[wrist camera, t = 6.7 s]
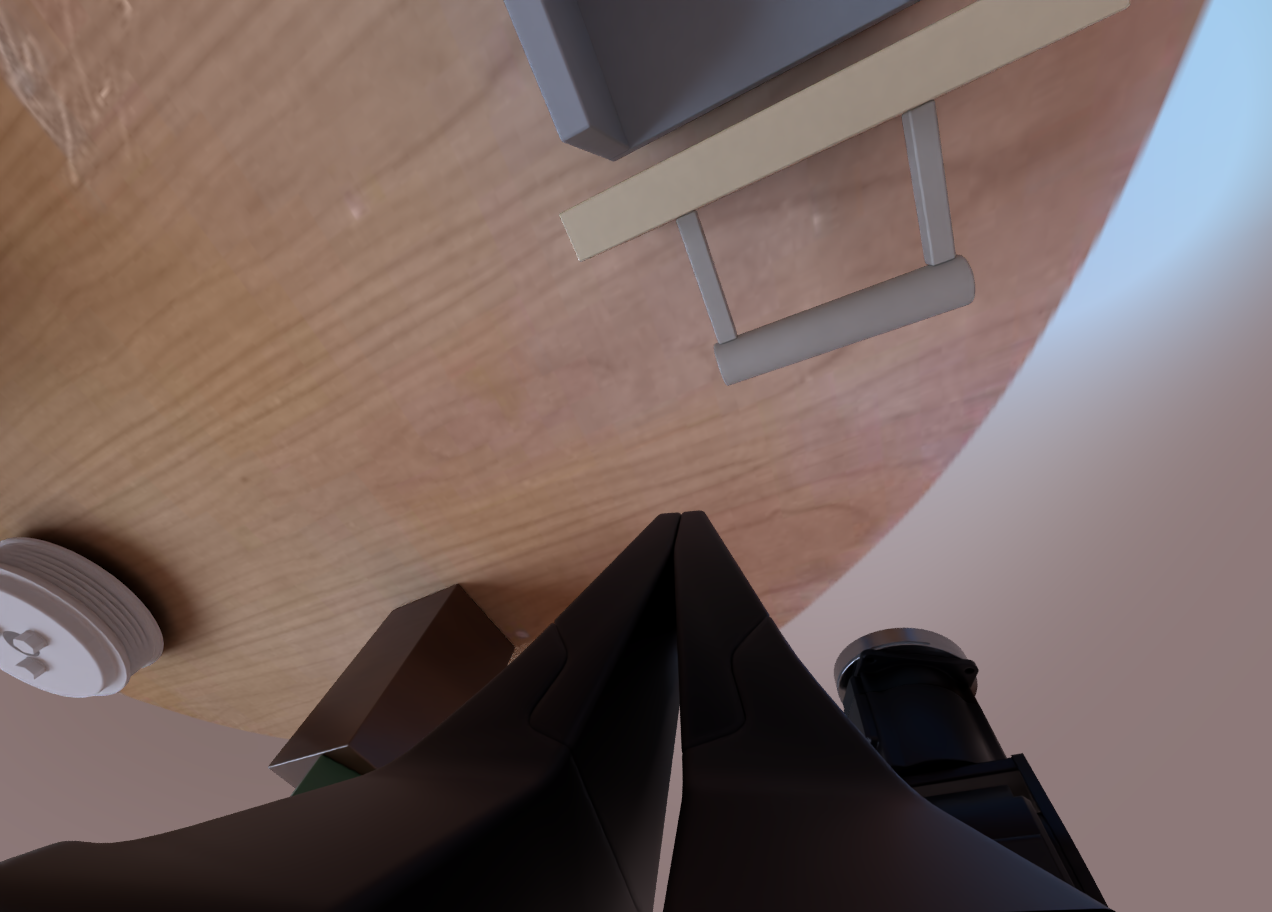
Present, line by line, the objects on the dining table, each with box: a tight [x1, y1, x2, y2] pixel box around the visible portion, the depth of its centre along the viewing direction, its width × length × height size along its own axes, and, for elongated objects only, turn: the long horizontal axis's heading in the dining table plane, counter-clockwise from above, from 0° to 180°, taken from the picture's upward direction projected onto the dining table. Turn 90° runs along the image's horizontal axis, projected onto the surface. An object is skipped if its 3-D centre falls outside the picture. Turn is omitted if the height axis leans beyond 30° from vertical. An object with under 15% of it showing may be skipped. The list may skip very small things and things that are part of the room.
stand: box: [268, 584, 515, 788], centre depth 27 cm, size 6×6×10 cm
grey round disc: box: [0, 537, 164, 698], centre depth 34 cm, size 13×13×5 cm
